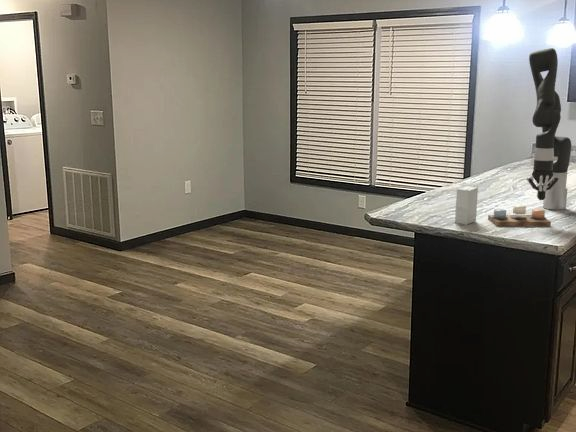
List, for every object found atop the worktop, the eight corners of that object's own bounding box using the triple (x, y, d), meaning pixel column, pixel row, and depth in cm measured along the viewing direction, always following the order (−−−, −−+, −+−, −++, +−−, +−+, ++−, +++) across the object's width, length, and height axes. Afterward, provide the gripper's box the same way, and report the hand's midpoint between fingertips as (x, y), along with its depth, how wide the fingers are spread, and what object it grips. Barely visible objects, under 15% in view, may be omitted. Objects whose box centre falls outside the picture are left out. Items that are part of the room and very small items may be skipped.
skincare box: (463, 219, 283) (465, 185, 280) (476, 221, 279) (478, 187, 276) (454, 222, 277) (455, 188, 274) (467, 225, 273) (469, 189, 270)
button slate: (504, 215, 279) (504, 209, 278) (507, 218, 274) (508, 211, 273) (492, 215, 279) (492, 209, 278) (495, 218, 274) (495, 211, 274)
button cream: (523, 211, 278) (523, 204, 278) (527, 214, 273) (527, 207, 273) (511, 211, 278) (511, 204, 278) (515, 214, 274) (515, 207, 273)
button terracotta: (541, 216, 278) (542, 209, 278) (546, 218, 274) (546, 211, 273) (530, 216, 279) (530, 209, 278) (534, 218, 274) (534, 211, 273)
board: (539, 219, 283) (540, 214, 282) (550, 226, 270) (551, 220, 270) (487, 219, 283) (487, 214, 283) (496, 226, 271) (496, 220, 270)
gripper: (556, 157, 274) (553, 197, 278) (524, 157, 274) (522, 198, 278) (563, 159, 267) (560, 201, 271) (530, 160, 267) (528, 201, 271)
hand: (540, 199), depth 274 cm, fingers closed
